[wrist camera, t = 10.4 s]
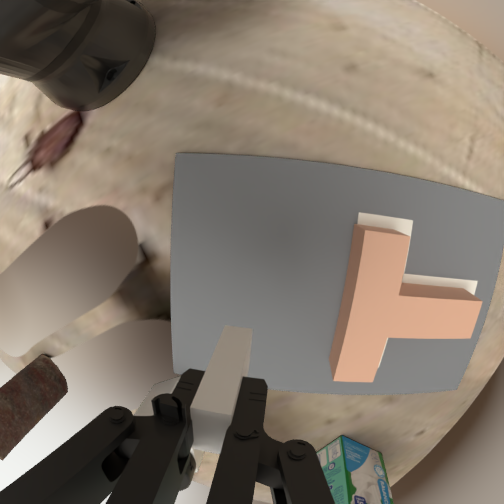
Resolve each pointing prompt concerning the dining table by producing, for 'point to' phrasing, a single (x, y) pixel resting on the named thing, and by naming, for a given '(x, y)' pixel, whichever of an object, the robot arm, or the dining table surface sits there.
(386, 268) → the t block
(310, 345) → the mat
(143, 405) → the jar
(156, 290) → the dining table surface
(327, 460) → the milk carton
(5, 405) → the candle
